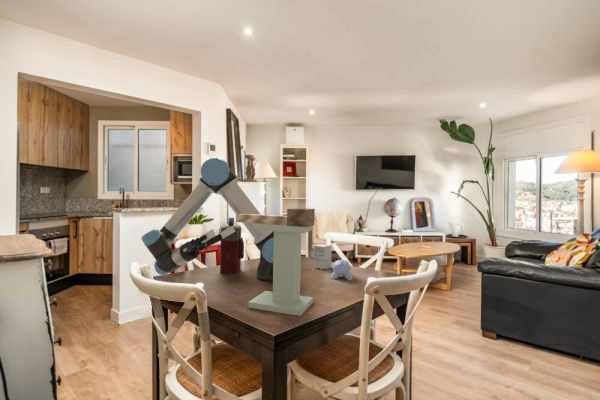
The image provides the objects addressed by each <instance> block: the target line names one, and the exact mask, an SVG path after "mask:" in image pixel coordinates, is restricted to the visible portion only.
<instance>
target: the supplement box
mask: <svg viewBox="0 0 600 400" xmlns="http://www.w3.org/2000/svg"><path fill="white" fill-rule="evenodd" d="M313 268H314V269H317V268H320V269H319V270H323V269H325V270H327V269H330V268H332V244H331V245H330V244H327V243H326V244H325V243H319V244H315V245H313Z"/></svg>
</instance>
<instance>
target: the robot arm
mask: <svg viewBox="0 0 600 400" xmlns="http://www.w3.org/2000/svg"><path fill="white" fill-rule="evenodd" d="M200 176H201V177H200V178H199V180H198V181H199V182H198V184H197V185H196V187H195V188H194V189H193V190H192V191H191V193H190V194H189V195H188V196H187V197H186V199H185V200H184V201H183V203H182V204H181V205H179V207H178V208H177V210H176V211H175V212H174V213H173V214H172V216H171V217H169V219H168V220H167V221H166V223H165V224H164V225H163V226H162V227H161V228H160V230H159V229H158V228H153V229H152V230H149V231H148V232H146V233H145V234H144V235H142V236H141V240H142V242H143V244H144V246H145V247H146V248H147V250H148V251H149V253H150V254H151V255H152V256H153V258H154V259H155V261H154V264H153V265H154V266H153V267H154V270H155V272H156V273H157V274H159V275H161V276H166V275H169V274H170V273H172V272H175V271H176V270H178V269H179V268H181V267H183V266H185V267H186V266H187V263H189V262H191V261H194V260H195V259H196V258H198V257H199V254H200V252H201V251H203V250H204V249H207V248H209V247H211V246H212V245H215V244H217V243H219V242H221V240H223V239H225V237H227V236H229V235H230V234H232V233H234V232H235V230H234V228H233V226H231V227H229V228H227V229H226V230H224V231H222V232H221V231H219V233H218V234H216V232H215V230H214V229H210V230H209V231H207V232H205V233H204V234H202V235H200V236H199V237H196V238H192V239H191V240H190V241H187V242H186V241H185V243H184V244H181V245H179V246H178V247H176V248H175V249H172V247H171V245H172V244H173V243H174V241H175V239H176V238H177V237H178V235H179V234H180V233H181V232H182V231H183V229H185V227H186V226H187V225H188V223H189V222H190V221H191V220H192V219H193V217H194V216H195V215H196V214H197V212H198V211H199V210H200V209H201V208H202V207H203V205H204V204H205V203H206V202H207V201H208V200H209V198H210V197H211V196H212V194H215V195H219V196H221V198H223V200H224V201H225V202H226V204H228V206H229V207H230V209H232V211H233V213H234V214H235V215H236V214H255V215H262V213H260V211H259V210H258V209H257V207H256V206H255V205H254V203H253V202H252V201H251V199H250V198H249V197H248V196H247V194H246V193H245V191H243V189H242V187H240V185H239V184H238V177H237V175H236V174H235V172H233V170H232V168H231V167H230V166H229V164H228V163H227V161H226V160H224V158H223V159H222V158H221V157H210V158H208V159H206V160H205V161H204V162H203V163H202V165H201V167H200ZM241 223H242V224H243V225H244V227H245V228H246V230H247V231H248V232H249V233H250V234H251V236H252V237H253V238H254V240H253V241H254V242H253V243H254V245H255V247H256V248H257V249H258V251H259V263H258V266H257V269H256V271H255V277H256V278H257V279H258V280H262V281H273V255H274V231H266V230H252V224H256V223H244V222H241Z"/></svg>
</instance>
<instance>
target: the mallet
mask: <svg viewBox="0 0 600 400" xmlns="http://www.w3.org/2000/svg"><path fill="white" fill-rule="evenodd" d="M242 222H244V223H261V224H277V225H287V226H300V227H310V226H313V227H314V226H315V208H307V207H306V208H302V207H301V208H300V207H292V208H287V209H286V215H276V214H275V215H270V214H261V215H255V214H235V223H242Z"/></svg>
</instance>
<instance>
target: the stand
mask: <svg viewBox="0 0 600 400" xmlns="http://www.w3.org/2000/svg"><path fill="white" fill-rule="evenodd" d="M252 230H266V231H274V255H273V280H272V291H269V290H264V291H263V292H261V293H260V294H259V295H257V296H255V297H254V298H252V299H251V300H249V301H248V303H247V305H248V306H247V308H249V309H253V310H261V311H267V312H273V313H280V314H286V315H290V316H291V315H292V316H297V315H298V317H301V316H302V315H303V314H304V313H305V312H306V311H307V309H308V308H310V306H311V305H312V304H313V302H314V297H313V296H304V295H301V264H302V262H301V261H302V260H301V259H302V234H306V233H309V232H311V231H313V230H314V225H313V226H310V227H300V226H287V225H277V224H261V223H256V224H252Z"/></svg>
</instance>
